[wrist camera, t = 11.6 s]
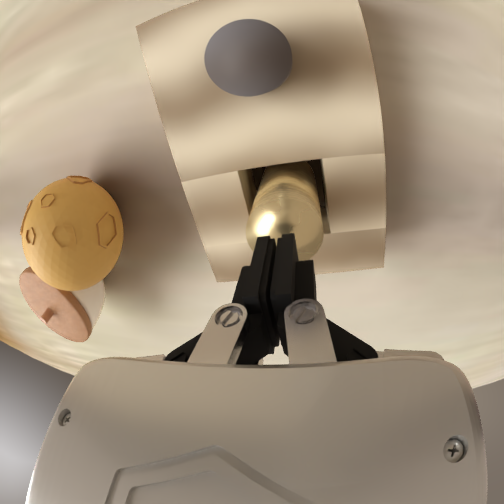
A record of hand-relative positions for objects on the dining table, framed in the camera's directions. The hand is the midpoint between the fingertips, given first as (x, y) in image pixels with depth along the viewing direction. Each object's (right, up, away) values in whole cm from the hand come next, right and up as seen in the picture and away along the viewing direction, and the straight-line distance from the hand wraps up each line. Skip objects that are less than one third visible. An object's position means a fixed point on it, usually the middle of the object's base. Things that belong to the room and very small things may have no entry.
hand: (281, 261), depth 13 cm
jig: (+1, +9, +6) cm, 11 cm away
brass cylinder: (+1, +6, +8) cm, 10 cm away
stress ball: (-16, +5, +12) cm, 21 cm away
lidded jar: (-22, -1, +18) cm, 28 cm away
